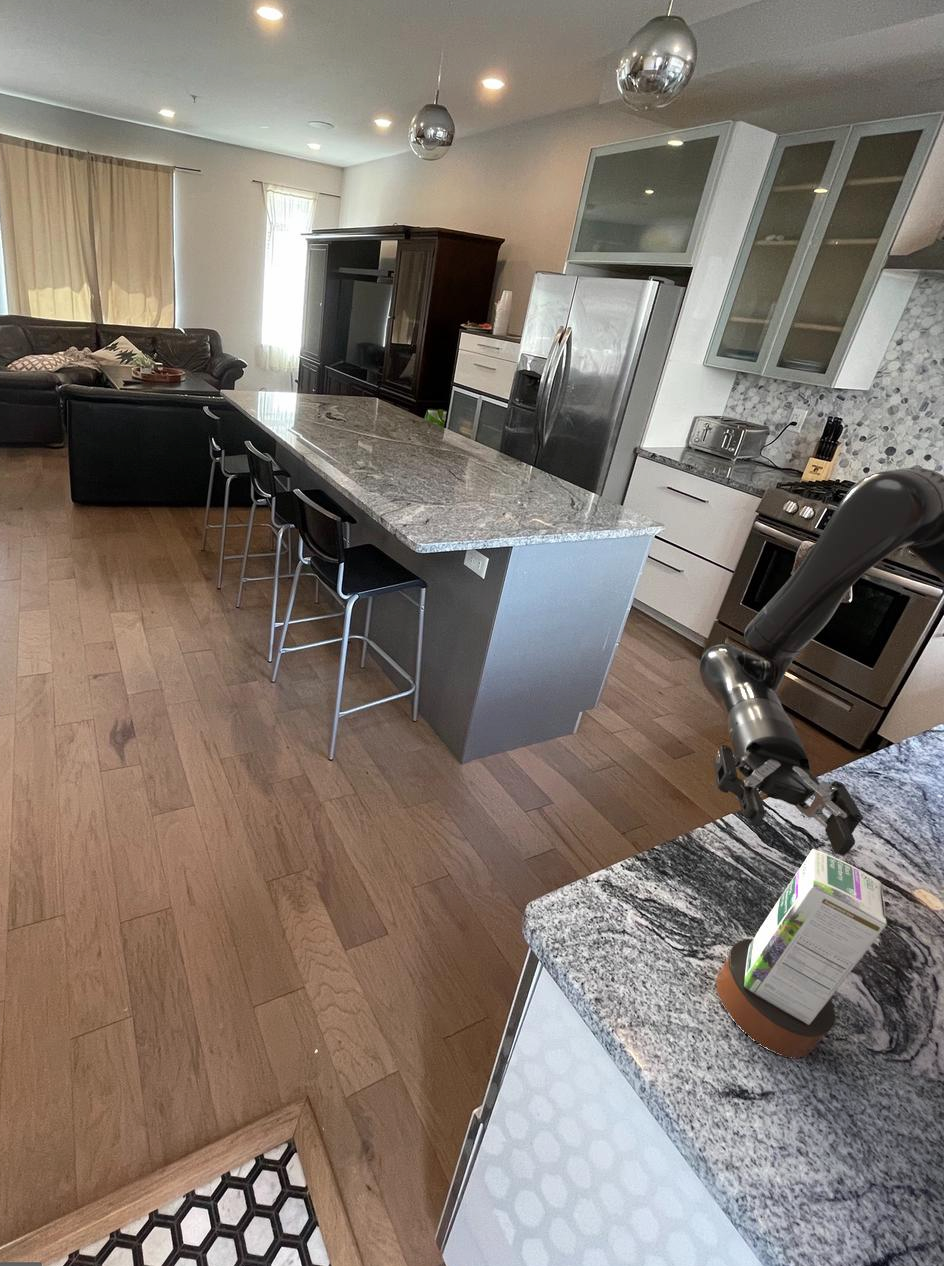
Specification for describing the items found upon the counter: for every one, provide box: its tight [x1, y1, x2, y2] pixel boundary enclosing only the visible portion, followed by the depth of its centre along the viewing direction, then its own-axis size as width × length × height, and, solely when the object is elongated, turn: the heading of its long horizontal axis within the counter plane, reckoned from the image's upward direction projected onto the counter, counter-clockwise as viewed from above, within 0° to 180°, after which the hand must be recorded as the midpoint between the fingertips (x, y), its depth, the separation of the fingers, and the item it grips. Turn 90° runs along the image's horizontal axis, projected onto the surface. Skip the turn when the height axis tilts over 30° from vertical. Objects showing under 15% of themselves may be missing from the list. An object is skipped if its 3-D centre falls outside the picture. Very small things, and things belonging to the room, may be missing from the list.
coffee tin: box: [715, 938, 836, 1059], centre depth 62 cm, size 9×9×4 cm
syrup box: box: [744, 848, 888, 1025], centre depth 58 cm, size 6×6×14 cm
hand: (801, 834), depth 67 cm, fingers open, 8 cm apart
